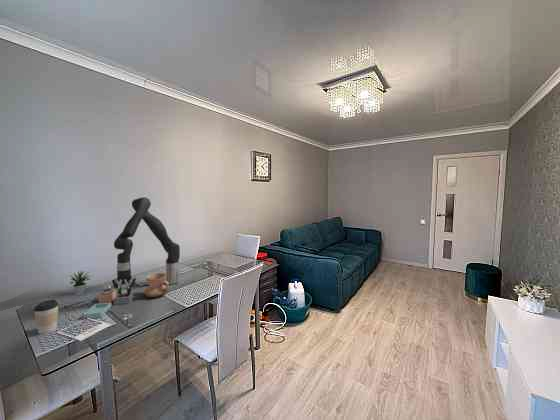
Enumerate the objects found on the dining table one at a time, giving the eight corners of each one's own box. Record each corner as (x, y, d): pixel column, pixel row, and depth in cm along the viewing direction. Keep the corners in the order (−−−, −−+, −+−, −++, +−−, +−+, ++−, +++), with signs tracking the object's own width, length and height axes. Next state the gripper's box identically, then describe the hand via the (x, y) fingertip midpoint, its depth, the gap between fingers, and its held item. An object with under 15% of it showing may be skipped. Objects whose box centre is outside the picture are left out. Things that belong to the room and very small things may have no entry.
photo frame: (80, 339, 112) (56, 331, 117) (80, 341, 112) (56, 334, 117) (110, 323, 126) (88, 317, 131) (110, 325, 126) (88, 319, 131)
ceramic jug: (138, 297, 159) (138, 278, 158) (153, 289, 173) (153, 271, 172) (160, 301, 155) (160, 281, 154) (174, 292, 169) (174, 273, 168)
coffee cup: (37, 337, 114) (36, 308, 113) (32, 331, 118) (31, 303, 117) (62, 328, 121) (61, 301, 120) (56, 323, 126) (55, 297, 125)
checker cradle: (136, 295, 162) (136, 289, 161) (129, 304, 149) (129, 297, 149) (122, 296, 160) (122, 290, 159) (114, 305, 147) (113, 298, 147)
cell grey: (113, 298, 155) (112, 283, 154) (109, 301, 151) (108, 285, 150) (106, 299, 154) (105, 283, 153) (102, 302, 150) (101, 286, 149)
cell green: (129, 296, 155) (129, 281, 154) (126, 299, 151) (126, 283, 150) (122, 297, 154) (122, 281, 153) (119, 300, 150) (119, 284, 149)
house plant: (75, 299, 154) (74, 275, 153) (59, 296, 157) (58, 273, 156) (96, 290, 168) (95, 269, 167) (81, 288, 171) (80, 267, 170)
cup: (116, 298, 157) (116, 290, 156) (111, 303, 150) (111, 294, 150) (104, 299, 155) (104, 290, 155) (99, 304, 148) (98, 295, 148)
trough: (111, 306, 146) (111, 302, 146) (101, 317, 133) (101, 312, 133) (95, 307, 143) (94, 303, 143) (82, 318, 131) (82, 314, 131)
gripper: (138, 266, 156) (138, 290, 158) (114, 267, 153) (114, 292, 154) (134, 269, 149) (134, 295, 150) (108, 271, 146) (109, 297, 147)
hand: (124, 293), depth 152 cm, fingers closed on cell green, 4 cm apart
